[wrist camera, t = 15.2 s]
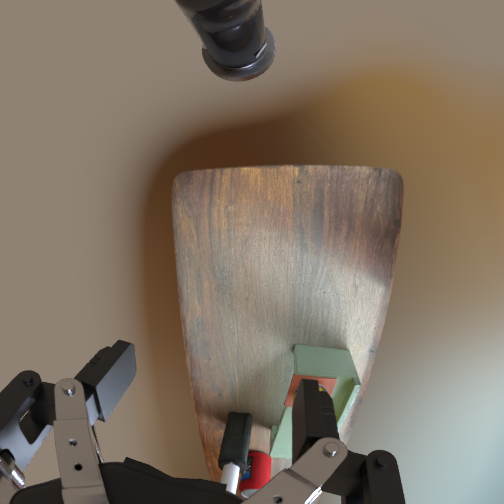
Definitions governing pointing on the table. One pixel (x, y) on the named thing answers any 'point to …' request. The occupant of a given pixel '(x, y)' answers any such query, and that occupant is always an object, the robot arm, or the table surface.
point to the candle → (234, 448)
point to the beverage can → (255, 473)
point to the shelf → (327, 373)
